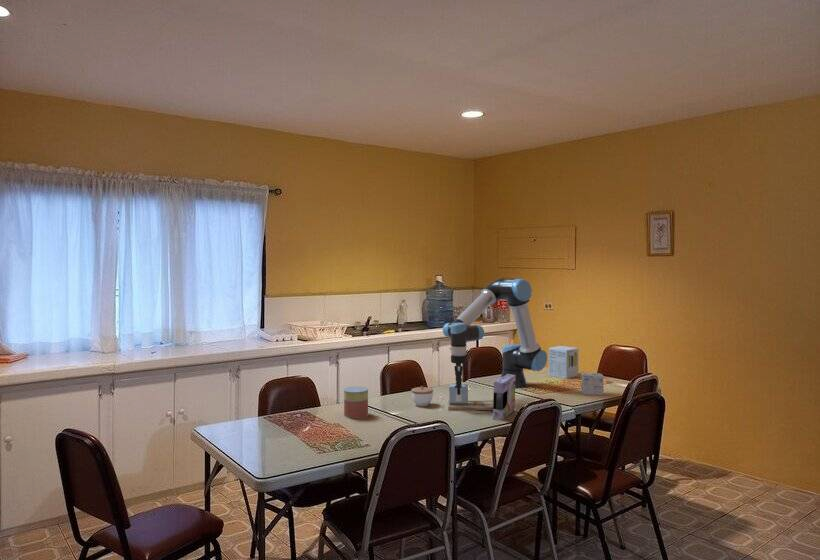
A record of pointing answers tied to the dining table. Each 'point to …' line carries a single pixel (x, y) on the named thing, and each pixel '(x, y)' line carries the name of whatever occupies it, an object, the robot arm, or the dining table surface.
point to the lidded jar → (422, 395)
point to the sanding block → (453, 395)
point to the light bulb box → (592, 384)
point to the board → (473, 406)
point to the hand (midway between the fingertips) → (458, 397)
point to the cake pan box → (504, 396)
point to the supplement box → (563, 362)
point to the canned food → (356, 402)
